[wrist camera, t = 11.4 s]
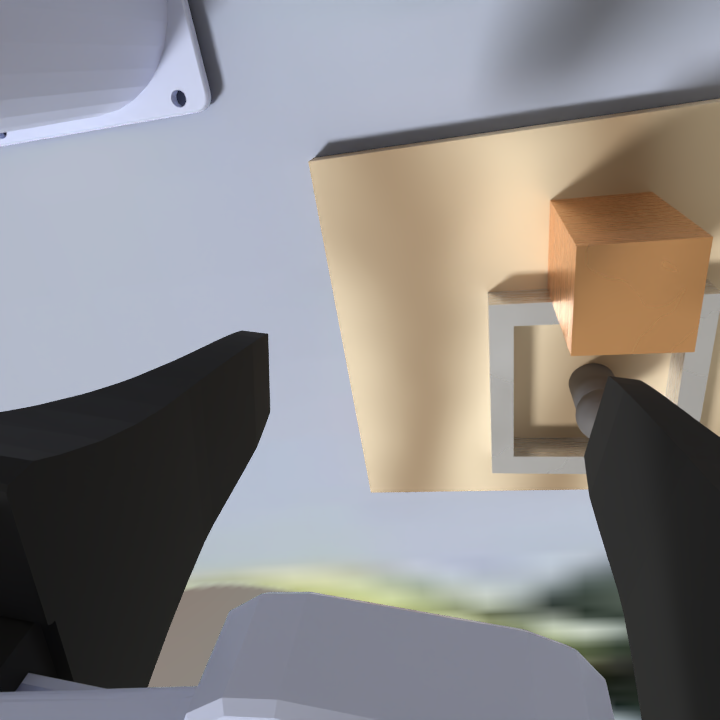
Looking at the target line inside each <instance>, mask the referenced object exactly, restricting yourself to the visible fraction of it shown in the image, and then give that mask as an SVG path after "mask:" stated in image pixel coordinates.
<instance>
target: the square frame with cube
mask: <svg viewBox="0 0 720 720" xmlns="http://www.w3.org/2000/svg"><path fill="white" fill-rule="evenodd" d="M712 241H713V236H711V235H710V234H709V233H707V232H706V231H705V230H703V229H702V228H701V227H699V226H698V225H696V224H695V223H694V222H692V221H691V220H690V219H688V218H687V217H686V216H684V215H683V214H682V213H680V212H679V211H678V210H676V209H675V208H673V207H672V206H671V205H669V204H668V203H667V202H665V201H664V200H663V199H661V198H660V197H659V196H657V195H656V194H654V193H653V192H641V193H629V194H617V195H605V196H593V197H582V198H570V199H558V200H550V215H549V249H548V284H547V289H535V290H517V291H498V292H487V293H488V340H489V386H490V433H491V463H492V473H514V474H586V468H585V460H584V454H585V451H586V448H587V444H588V441H589V438H514V326H531V325H554V324H560V326H561V329H562V332H563V335H564V338H565V341H566V344H567V347H568V349H569V352H570V355H571V356H591V355H622V354H653V353H671V359H670V366H669V373H668V380H667V387H666V394H665V397H666V398H668V399H669V400H670V401H672V402H673V403H674V404H676V405H677V406H678V407H680V408H681V409H682V410H684V411H685V412H687V413H688V414H689V415H691V416H692V417H693V418H695V419H696V420H697V421H699V422H700V419H701V413H702V408H703V402H704V396H705V391H706V385H707V380H708V374H709V368H710V363H711V357H712V351H713V346H714V340H715V334H716V329H717V323H718V318H719V312H720V290H719V289H717V288H716V287H715V286H714V285H713V284H712V283H711V282H710V281H709V280H706V278H707V272H708V266H709V260H710V254H711V248H712Z"/></svg>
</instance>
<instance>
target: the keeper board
mask: <svg viewBox="0 0 720 720" xmlns="http://www.w3.org/2000/svg"><path fill="white" fill-rule="evenodd" d="M309 167H310V173H311V178H312V183H313V188H314V194H315V199H316V204H317V210H318V215H319V220H320V225H321V231H322V236H323V241H324V247H325V252H326V257H327V262H328V268H329V273H330V278H331V284H332V289H333V294H334V299H335V305H336V310H337V315H338V321H339V326H340V331H341V336H342V342H343V347H344V352H345V357H346V363H347V368H348V373H349V379H350V384H351V389H352V394H353V400H354V405H355V410H356V416H357V421H358V426H359V431H360V437H361V442H362V447H363V453H364V458H365V463H366V468H367V474H368V479H369V484H370V490H371V492H436V491H504V490H571V489H588V483H587V477H586V474H514V473H492V463H491V433H490V386H489V340H488V293H487V292H498V291H517V290H535V289H547V284H548V249H549V215H550V200H558V199H570V198H582V197H593V196H605V195H617V194H629V193H641V192H653V193H654V194H656V195H657V196H659V197H660V198H661V199H663V200H664V201H665V202H667V203H668V204H669V205H671V206H672V207H673V208H675V209H676V210H678V211H679V212H680V213H682V214H683V215H684V216H686V217H687V218H688V219H690V220H691V221H692V222H694V223H695V224H696V225H698V226H699V227H701V228H702V229H703V230H705V231H706V232H707V233H709V234H710V235H711V236H713V241H712V248H711V254H710V260H709V266H708V272H707V278H706V280H709V281H710V282H711V283H712V284H713V285H714V286H715V287H716V288H717V289H719V290H720V98H719V99H712V100H705V101H699V102H692V103H685V104H678V105H671V106H665V107H658V108H651V109H644V110H637V111H630V112H624V113H617V114H610V115H603V116H596V117H590V118H583V119H576V120H569V121H562V122H555V123H549V124H542V125H535V126H528V127H521V128H515V129H508V130H501V131H494V132H487V133H480V134H474V135H467V136H460V137H453V138H446V139H440V140H433V141H426V142H419V143H412V144H405V145H399V146H392V147H385V148H378V149H371V150H365V151H358V152H351V153H344V154H337V155H330V156H324V157H317V158H313V159H312V160H310V161H309ZM670 359H671V353H653V354H622V355H591V356H571V355H570V352H569V349H568V347H567V344H566V341H565V338H564V335H563V332H562V329H561V326H560V324H554V325H531V326H514V438H590V434H591V431H592V428H593V425H594V421H595V418H596V415H597V412H598V408H599V405H600V402H601V398H602V395H603V392H604V389H605V385H606V382H607V379H608V376H613V377H621V378H629V379H637V380H641V381H643V382H644V383H646V384H648V385H649V386H651V387H652V388H654V389H655V390H657V391H658V392H659V393H661V394H662V395H664V396H665V394H666V387H667V380H668V373H669V366H670ZM700 423H701V424H703V425H704V426H705V427H707V428H708V429H710V430H711V431H712V432H714V433H715V434H716V435H718V436H719V437H720V312H719V318H718V323H717V329H716V334H715V340H714V346H713V351H712V357H711V363H710V368H709V374H708V380H707V385H706V391H705V396H704V402H703V408H702V413H701V419H700Z"/></svg>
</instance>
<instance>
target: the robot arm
mask: <svg viewBox="0 0 720 720" xmlns="http://www.w3.org/2000/svg"><path fill="white" fill-rule="evenodd" d="M179 90H180V91H182V92H183V93H184V94H185V96H186V104H185V106H181V105H180V104H179V103H178V101H177V99H176V94H177V92H178V91H179ZM210 102H211V92H210V88H209V84H208V80H207V76H206V72H205V68H204V64H203V60H202V56H201V52H200V48H199V44H198V40H197V36H196V32H195V28H194V24H193V20H192V16H191V12H190V8H189V4H188V0H0V147H1V146H7V145H12V144H18V143H24V142H30V141H36V140H41V139H47V138H53V137H59V136H65V135H70V134H76V133H82V132H88V131H94V130H99V129H105V128H111V127H117V126H123V125H128V124H134V123H140V122H146V121H152V120H157V119H163V118H169V117H175V116H181V115H186V114H192V113H198V112H202V111H204V110H206V109H207V108H208V107H209V105H210ZM4 132H7V135H6V136H5V135H4V134H3V133H4ZM269 414H270V390H269V351H268V334H265V333H257V332H249V331H239V332H236V333H233V334H231V335H228V336H226V337H224V338H221V339H219V340H217V341H215V342H213V343H211V344H209V345H207V346H205V347H202V348H200V349H198V350H196V351H194V352H192V353H190V354H188V355H185V356H183V357H181V358H179V359H177V360H175V361H172V362H170V363H168V364H165V365H163V366H161V367H158V368H156V369H153V370H151V371H149V372H146V373H144V374H142V375H139V376H137V377H134V378H131V379H129V380H126V381H123V382H120V383H117V384H115V385H111V386H108V387H105V388H102V389H99V390H96V391H92V392H89V393H85V394H82V395H78V396H74V397H70V398H65V399H61V400H57V401H53V402H49V403H45V404H41V405H37V406H32V407H26V408H21V409H16V410H10V411H5V412H0V720H614V715H613V711H612V707H611V702H610V698H609V693H608V689H607V684H606V680H605V679H604V678H603V677H602V676H601V675H600V674H599V673H598V672H597V671H596V670H595V668H594V667H593V666H592V665H591V664H590V663H589V662H588V661H587V660H586V659H585V658H584V657H583V656H582V655H581V654H580V653H579V652H578V651H577V650H576V649H574V648H572V647H570V646H568V645H565V644H562V643H560V642H557V641H554V640H551V639H549V638H546V637H543V636H540V635H538V634H535V633H532V632H529V631H527V630H524V629H518V628H512V627H507V626H501V625H495V624H490V623H484V622H478V621H473V620H467V619H461V618H456V617H450V616H444V615H439V614H433V613H427V612H421V611H416V610H410V609H404V608H399V607H393V606H387V605H382V604H376V603H370V602H365V601H359V600H353V599H348V598H342V597H336V596H331V595H325V594H319V593H313V592H269V593H263V594H260V595H258V596H256V597H255V598H253V599H251V600H249V601H247V602H245V603H243V604H242V605H240V606H238V607H236V608H234V609H232V610H230V611H229V613H228V616H227V618H226V621H225V623H224V625H223V627H222V630H221V632H220V635H219V637H218V639H217V642H216V644H215V646H214V649H213V651H212V654H211V656H210V658H209V660H208V663H207V665H206V668H205V670H204V672H203V675H202V677H201V679H200V682H199V684H198V686H184V687H183V686H181V687H149V688H147V687H148V684H149V681H150V679H151V676H152V673H153V670H154V668H155V665H156V662H157V660H158V657H159V654H160V651H161V649H162V646H163V643H164V641H165V638H166V635H167V632H168V630H169V627H170V625H171V622H172V619H173V617H174V614H175V612H176V610H177V607H178V604H179V602H180V600H181V597H182V594H183V592H184V590H185V587H186V585H187V582H188V580H189V577H190V575H191V573H192V570H193V568H194V566H195V563H196V561H197V558H198V556H199V554H200V551H201V549H202V547H203V544H204V542H205V540H206V538H207V536H208V534H209V532H210V530H211V528H212V526H213V524H214V522H215V521H216V519H217V517H218V515H219V514H220V512H221V510H222V508H223V507H224V505H225V503H226V501H227V500H228V498H229V496H230V494H231V493H232V491H233V489H234V487H235V486H236V484H237V482H238V480H239V479H240V477H241V475H242V473H243V471H244V470H245V468H246V466H247V464H248V462H249V461H250V459H251V457H252V455H253V453H254V451H255V450H256V448H257V445H258V443H259V440H260V438H261V435H262V433H263V430H264V427H265V425H266V422H267V419H268V416H269ZM584 460H585V468H586V477H587V483H588V490H589V496H590V500H591V503H592V507H593V510H594V514H595V517H596V521H597V524H598V527H599V531H600V534H601V537H602V540H603V544H604V547H605V550H606V553H607V557H608V560H609V563H610V566H611V570H612V573H613V576H614V579H615V583H616V586H617V589H618V593H619V597H620V601H621V605H622V608H623V612H624V618H625V623H626V628H627V634H628V639H629V645H630V650H631V656H632V661H633V667H634V674H635V680H636V686H637V693H638V699H639V705H640V711H641V718H642V720H720V437H719V436H718V435H716V434H715V433H714V432H712V431H711V430H710V429H708V428H707V427H705V426H704V425H703V424H701V423H700V422H699V421H697V420H696V419H695V418H693V417H692V416H691V415H689V414H688V413H687V412H685V411H684V410H682V409H681V408H680V407H678V406H677V405H676V404H674V403H673V402H672V401H670V400H669V399H668V398H666V397H665V396H664V395H662V394H661V393H659V392H658V391H657V390H655V389H654V388H652V387H651V386H649V385H648V384H646V383H644V382H643V381H641V380H637V379H629V378H621V377H613V376H608V379H607V382H606V385H605V389H604V392H603V395H602V398H601V402H600V405H599V408H598V412H597V415H596V418H595V421H594V425H593V428H592V431H591V434H590V438H589V441H588V444H587V448H586V451H585V454H584Z"/></svg>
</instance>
